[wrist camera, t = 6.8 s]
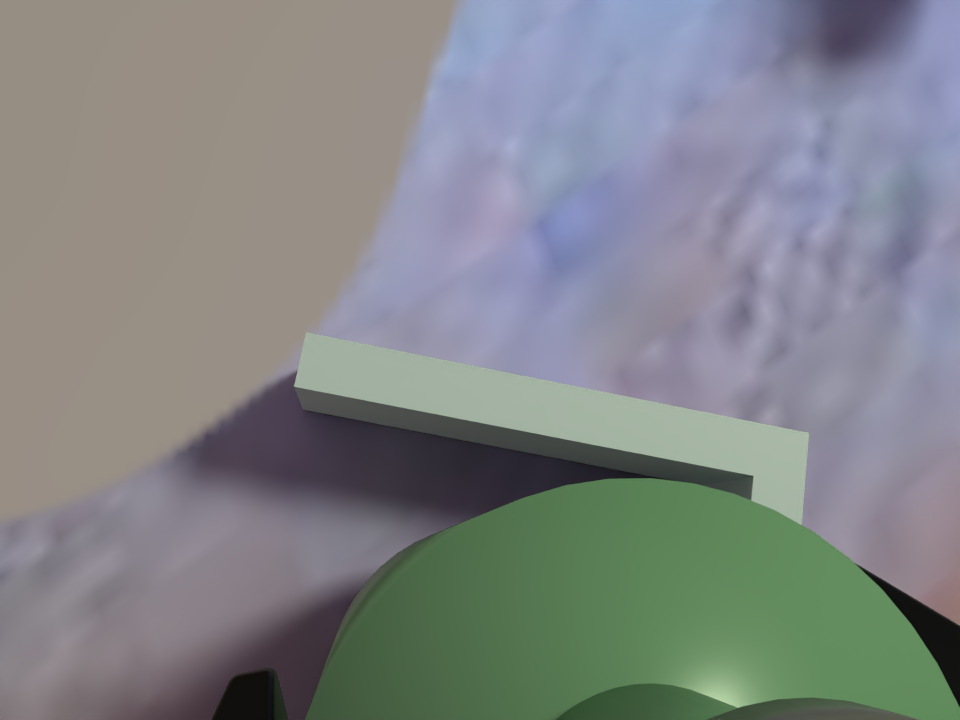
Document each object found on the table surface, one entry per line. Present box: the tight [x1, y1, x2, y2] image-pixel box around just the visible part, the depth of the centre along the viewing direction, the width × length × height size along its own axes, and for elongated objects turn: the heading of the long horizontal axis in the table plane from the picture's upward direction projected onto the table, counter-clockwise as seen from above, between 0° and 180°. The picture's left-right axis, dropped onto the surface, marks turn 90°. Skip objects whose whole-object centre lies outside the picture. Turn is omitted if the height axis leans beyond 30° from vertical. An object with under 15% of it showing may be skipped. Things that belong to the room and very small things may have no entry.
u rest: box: [294, 333, 809, 525], centre depth 16 cm, size 10×10×2 cm
